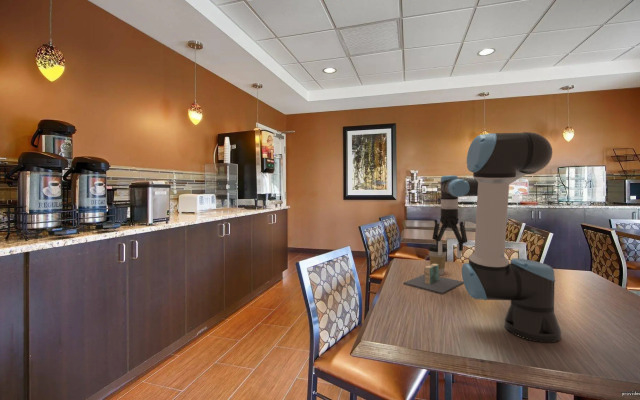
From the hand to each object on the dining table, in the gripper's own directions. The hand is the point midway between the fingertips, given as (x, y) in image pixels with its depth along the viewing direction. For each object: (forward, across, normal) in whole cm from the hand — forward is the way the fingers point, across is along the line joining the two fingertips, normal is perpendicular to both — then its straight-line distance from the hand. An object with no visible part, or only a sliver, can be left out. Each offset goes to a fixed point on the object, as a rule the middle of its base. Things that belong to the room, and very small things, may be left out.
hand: (449, 255), depth 141 cm
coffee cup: (+15, +15, -18) cm, 28 cm away
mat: (+15, +8, 0) cm, 17 cm away
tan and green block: (+14, +9, 0) cm, 17 cm away
